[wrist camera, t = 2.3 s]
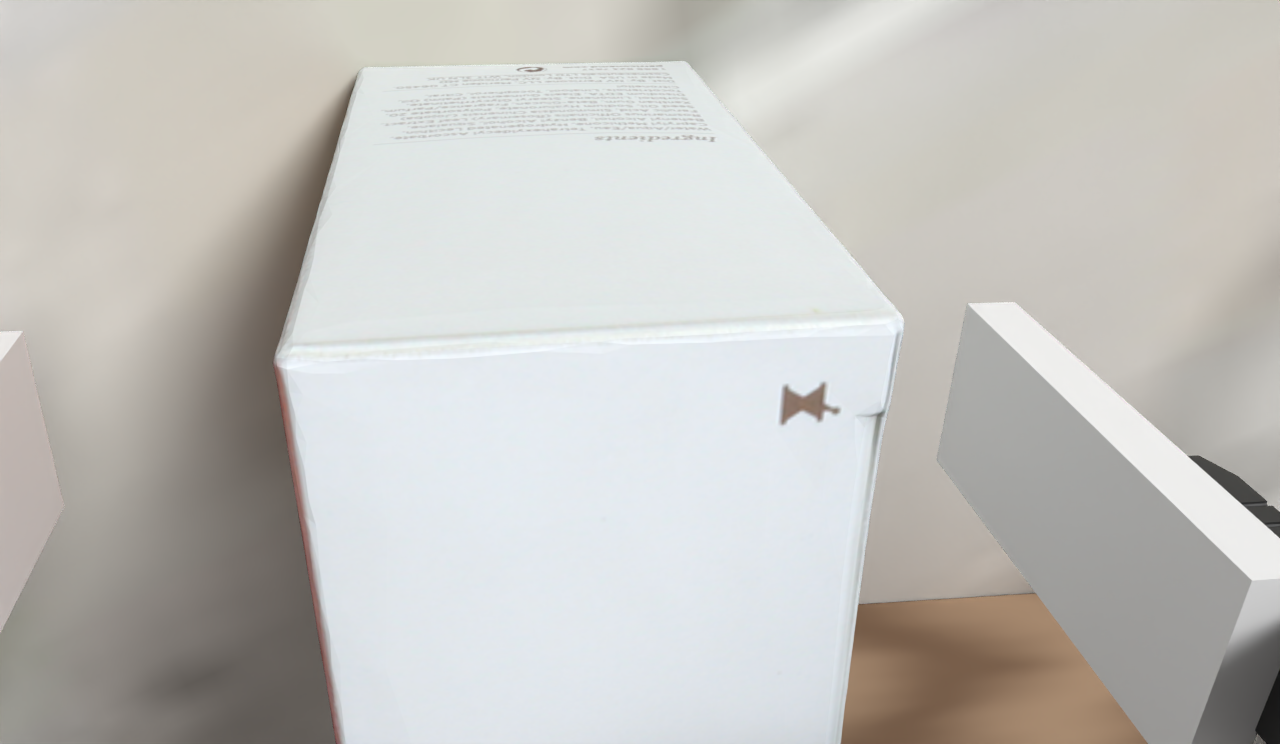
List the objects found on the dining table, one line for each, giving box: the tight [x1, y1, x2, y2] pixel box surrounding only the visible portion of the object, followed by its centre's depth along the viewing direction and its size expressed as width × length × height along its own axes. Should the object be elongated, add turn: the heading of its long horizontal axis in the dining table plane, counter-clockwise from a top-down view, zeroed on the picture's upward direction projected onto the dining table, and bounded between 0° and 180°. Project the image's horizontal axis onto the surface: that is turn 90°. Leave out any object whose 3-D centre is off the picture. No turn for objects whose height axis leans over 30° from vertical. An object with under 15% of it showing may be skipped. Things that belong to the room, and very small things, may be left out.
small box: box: [273, 61, 905, 744], centre depth 16 cm, size 8×6×10 cm
